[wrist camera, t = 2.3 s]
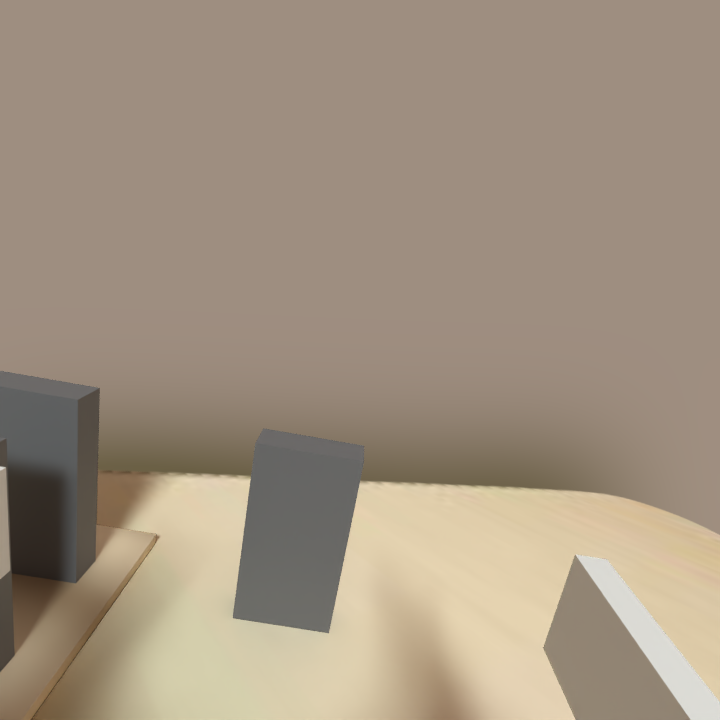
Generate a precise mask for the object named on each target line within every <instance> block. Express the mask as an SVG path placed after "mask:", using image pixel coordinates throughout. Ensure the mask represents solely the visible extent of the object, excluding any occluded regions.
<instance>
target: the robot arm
mask: <svg viewBox="0 0 720 720" xmlns="http://www.w3.org/2000/svg"><path fill="white" fill-rule="evenodd" d="M9 571H10V552H9V528H8V504H7V479H6V467H0V579H1V578H2V577H3V576H5V575H6V574H7V573H8V572H9ZM543 648H544V651H545V653H546V655H547V657H548V659H549V662H550V664H551V666H552V668H553V671H554V673H555V675H556V677H557V679H558V682H559V684H560V686H561V688H562V690H563V693H564V695H565V697H566V699H567V701H568V704H569V706H570V708H571V710H572V712H573V715H574V717H575V719H576V720H720V702H719V701H718V699H717V698H716V697H715V695H714V694H713V693H712V692H711V690H710V689H709V688H708V687H707V685H706V684H705V683H704V682H703V680H702V679H701V678H700V676H699V675H698V674H697V673H696V671H695V670H694V669H693V668H692V666H691V665H690V664H689V663H688V661H687V660H686V659H685V658H684V656H683V655H682V654H681V652H680V651H679V650H678V649H677V647H676V646H675V645H674V644H673V642H672V641H671V640H670V639H669V637H668V636H667V635H666V633H665V632H664V631H663V630H662V628H661V627H660V626H659V625H658V623H657V622H656V621H655V620H654V618H653V617H652V616H651V614H650V613H649V612H648V611H647V609H646V608H645V607H644V606H643V604H642V603H641V602H640V601H639V599H638V598H637V597H636V596H635V594H634V593H633V592H632V590H631V589H630V588H629V587H628V585H627V584H626V583H625V582H624V580H623V579H622V578H621V577H620V575H619V574H618V573H617V571H616V570H615V569H614V568H613V566H612V565H611V564H610V563H609V561H608V560H607V559H601V558H594V557H588V556H581V555H575V557H574V560H573V563H572V565H571V568H570V571H569V574H568V577H567V580H566V583H565V586H564V589H563V592H562V595H561V598H560V600H559V603H558V606H557V609H556V612H555V615H554V618H553V621H552V624H551V627H550V630H549V632H548V635H547V638H546V641H545V644H544V647H543Z"/></svg>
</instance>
